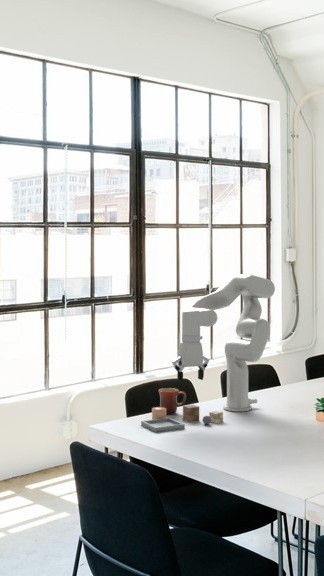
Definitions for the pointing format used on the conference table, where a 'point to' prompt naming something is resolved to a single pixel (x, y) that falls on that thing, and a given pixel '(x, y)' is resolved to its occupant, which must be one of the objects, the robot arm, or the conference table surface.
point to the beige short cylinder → (158, 413)
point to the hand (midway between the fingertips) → (190, 380)
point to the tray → (162, 424)
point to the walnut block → (190, 413)
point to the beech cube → (216, 416)
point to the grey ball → (206, 420)
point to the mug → (170, 399)
